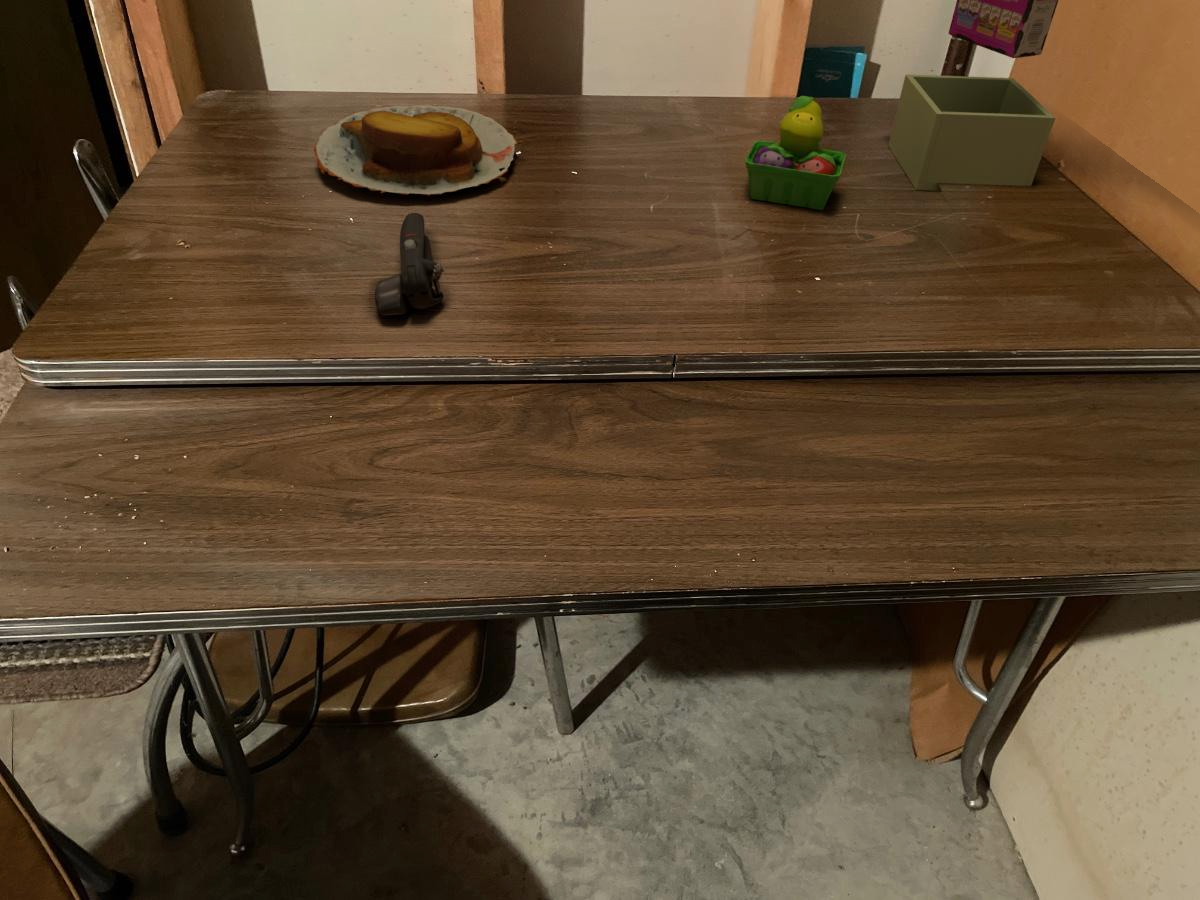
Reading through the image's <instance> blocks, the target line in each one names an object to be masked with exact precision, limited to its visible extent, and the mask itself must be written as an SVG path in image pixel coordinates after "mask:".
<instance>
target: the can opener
mask: <svg viewBox="0 0 1200 900" xmlns="http://www.w3.org/2000/svg"><path fill="white" fill-rule="evenodd" d="M399 253H400V254H399V255H400V269H401V271H400V272H401V273H396V274H394V275H391V276H388V277H386V278H383V279H381V280H379V281H378V282H377V284H376V286H375V290H374V303H375V306H376V308H377V311H378V312H379V314H380V315H381V316H390V315H392V316H393V315H404V314H406V313H407V312H408V309H409V304H410V306H411V307H412V308H414V309H417V310H425V309H428V308H431V307H434V306H435V305H437V304H439V303H440V302H442V301H443V300H444V298H445V297H444V296H445V295H444V293H443V292H442V289H441V285H440V281H439V280H440V278H441V277H442V275H443V273H444V272H446V269H445V268H443V260H440V261H439V263H438V262H437V259H434V260H432V246H431V241H430V238H429V236H428V235H426V234H425V219H424V215H423V214H420V213H418V212H411V213H409V214H407V215H406V216H405V218H404V219H403V221H402V223H401V226H400V234H399Z"/></svg>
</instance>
